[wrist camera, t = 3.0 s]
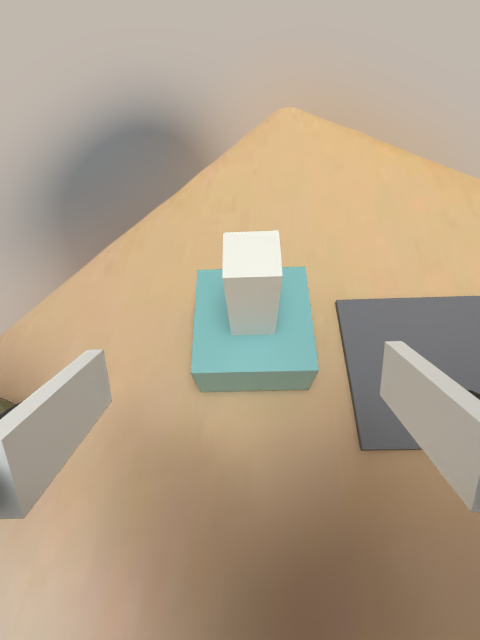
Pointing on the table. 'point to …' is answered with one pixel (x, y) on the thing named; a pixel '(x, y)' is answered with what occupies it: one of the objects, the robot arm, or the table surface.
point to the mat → (419, 334)
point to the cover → (253, 320)
